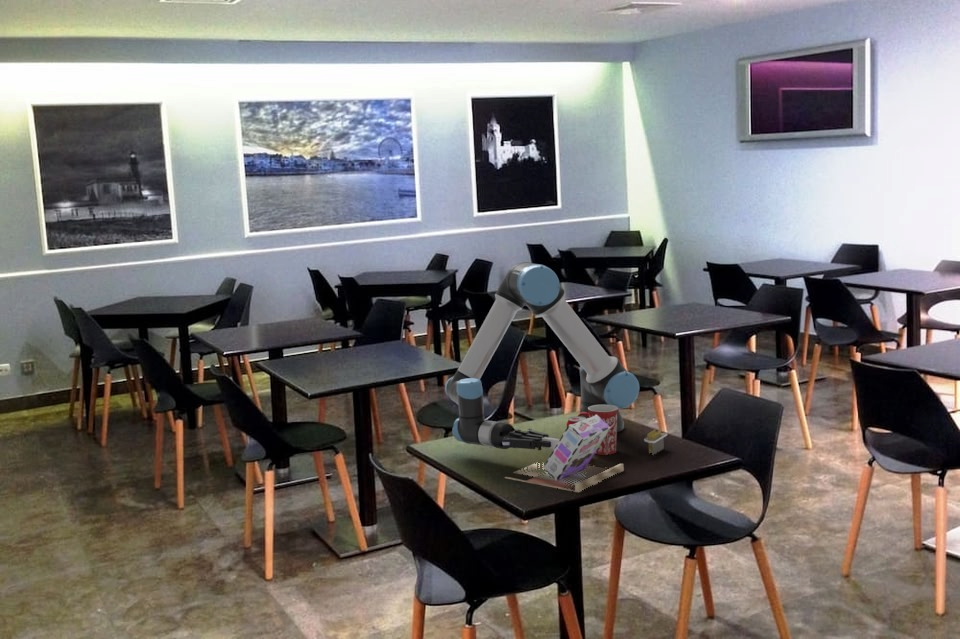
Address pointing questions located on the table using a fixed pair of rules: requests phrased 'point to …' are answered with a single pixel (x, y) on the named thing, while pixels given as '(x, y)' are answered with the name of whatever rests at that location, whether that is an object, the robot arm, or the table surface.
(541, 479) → the wooden picture frame
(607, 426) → the candy box
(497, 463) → the table surface
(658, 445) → the grey rectangular container
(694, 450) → the table surface
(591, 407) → the mug
